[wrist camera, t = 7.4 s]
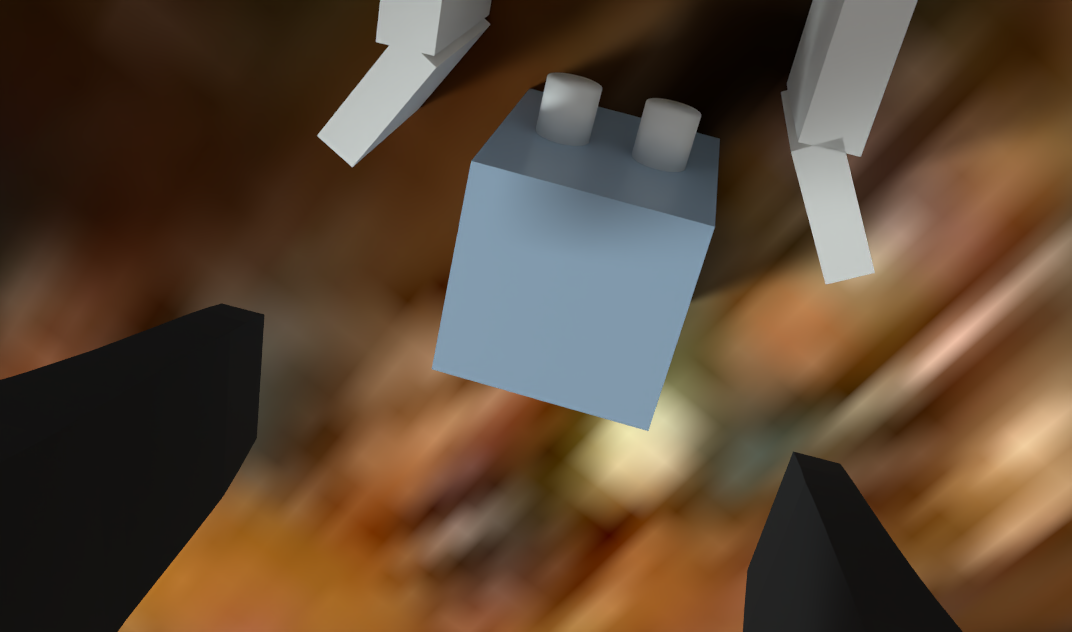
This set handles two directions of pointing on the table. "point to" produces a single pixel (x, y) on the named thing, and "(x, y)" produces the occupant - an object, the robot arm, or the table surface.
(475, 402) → the table surface
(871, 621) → the robot arm
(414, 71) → the port
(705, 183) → the plug
